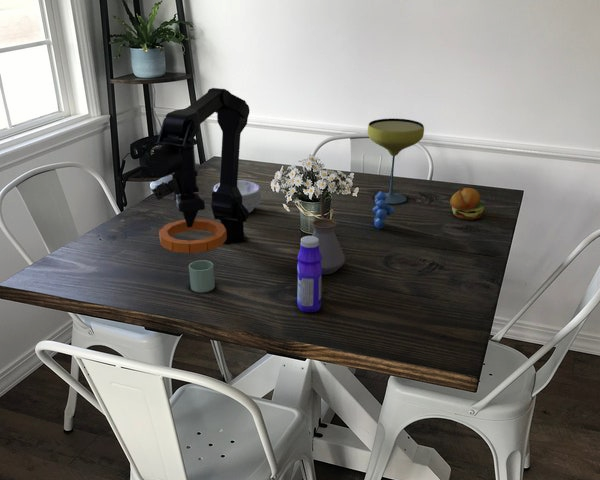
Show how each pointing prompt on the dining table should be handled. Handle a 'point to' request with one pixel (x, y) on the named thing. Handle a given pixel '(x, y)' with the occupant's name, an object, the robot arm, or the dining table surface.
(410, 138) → the cocktail glass
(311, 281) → the bottle
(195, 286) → the cup
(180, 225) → the ring
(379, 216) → the grapes
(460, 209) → the cheeseburger
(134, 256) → the dining table surface
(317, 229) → the coffee pot
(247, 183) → the paper bowls
